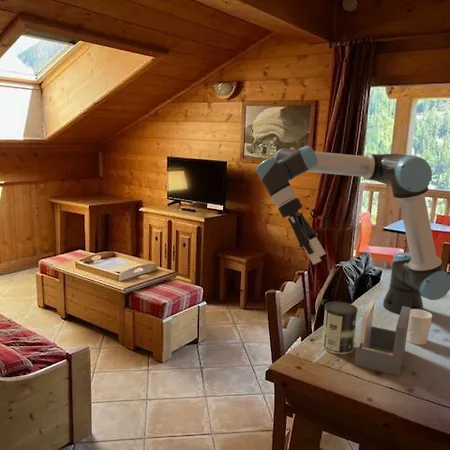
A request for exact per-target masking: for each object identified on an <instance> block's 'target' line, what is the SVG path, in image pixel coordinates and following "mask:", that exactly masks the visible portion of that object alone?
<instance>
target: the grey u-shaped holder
mask: <svg viewBox="0 0 450 450" xmlns="http://www.w3.org/2000/svg"><path fill="white" fill-rule="evenodd" d="M409 316H410V307H405V306H402V309H401V312H400V314H399V316H398V320H397V323H396V327H395V330H391V329H387V328H382V327H378V326H373V325H372V329H371V338H370V343H369V345H373V346H379V347H382V348H383V347H384V348H386V349H387V348H389V349H392V350H393V351H392V353H391V352H388V351H384V350H380V349H374V348H370V347H368V348H366V347H362V348H359V346H360V345H356V347H355V354H354V366H357V367H361V368H364V369H369V370H372V371H377V372H381V373H383V374H389V375H393V376H395V377H396V376H397V377H400V376H401V375H400V374H401V370H402V366H403V361H404V355H405V352H406V344H407V340H406V338H407V331H408V323H409Z"/></svg>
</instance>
